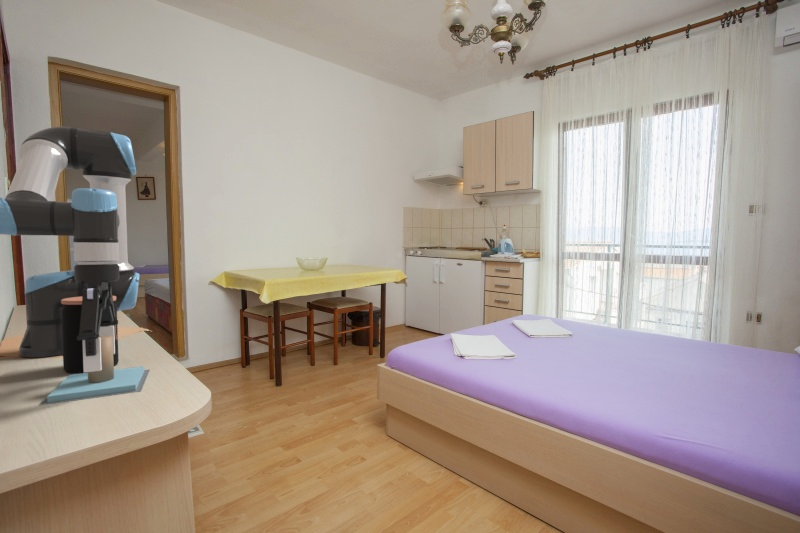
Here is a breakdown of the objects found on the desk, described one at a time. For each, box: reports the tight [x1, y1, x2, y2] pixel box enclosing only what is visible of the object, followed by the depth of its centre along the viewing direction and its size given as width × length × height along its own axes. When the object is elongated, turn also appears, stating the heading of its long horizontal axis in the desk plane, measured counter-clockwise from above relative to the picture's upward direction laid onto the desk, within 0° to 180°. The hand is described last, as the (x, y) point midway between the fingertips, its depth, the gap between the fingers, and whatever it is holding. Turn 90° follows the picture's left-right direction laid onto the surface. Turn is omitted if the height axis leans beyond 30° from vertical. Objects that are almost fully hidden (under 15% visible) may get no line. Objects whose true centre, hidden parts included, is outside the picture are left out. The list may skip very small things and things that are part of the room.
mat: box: [38, 369, 151, 407], centre depth 83 cm, size 16×16×1 cm
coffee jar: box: [61, 296, 120, 375], centre depth 95 cm, size 11×11×18 cm
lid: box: [46, 336, 146, 403], centre depth 83 cm, size 14×14×10 cm
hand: (100, 362), depth 83 cm, fingers open, 13 cm apart
